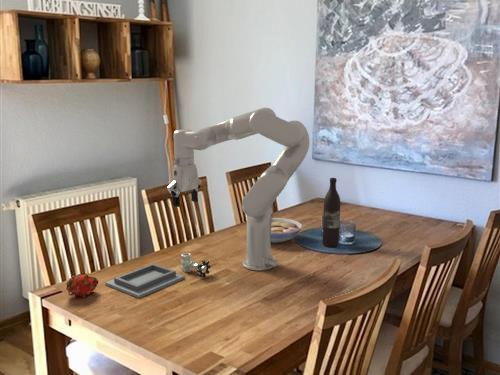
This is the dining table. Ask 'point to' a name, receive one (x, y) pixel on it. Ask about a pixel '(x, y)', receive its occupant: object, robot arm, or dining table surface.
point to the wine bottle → (331, 216)
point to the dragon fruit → (81, 285)
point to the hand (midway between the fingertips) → (185, 203)
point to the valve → (193, 265)
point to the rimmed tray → (145, 280)
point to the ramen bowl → (284, 229)
